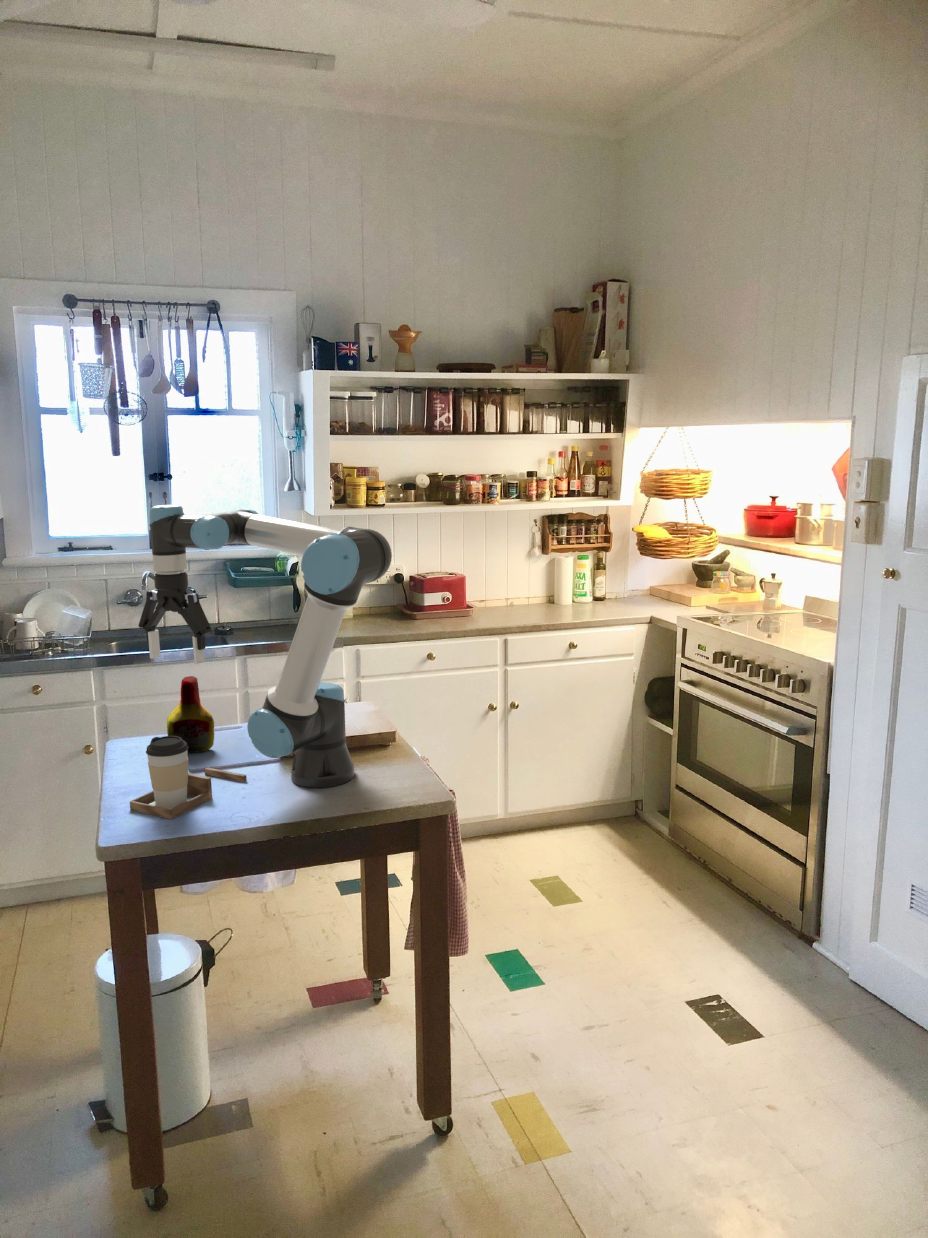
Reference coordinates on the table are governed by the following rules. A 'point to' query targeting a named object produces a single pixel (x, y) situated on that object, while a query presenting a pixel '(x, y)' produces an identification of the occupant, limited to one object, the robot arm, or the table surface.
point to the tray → (195, 788)
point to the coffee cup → (168, 770)
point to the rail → (225, 774)
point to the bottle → (191, 719)
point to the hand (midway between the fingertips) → (177, 660)
